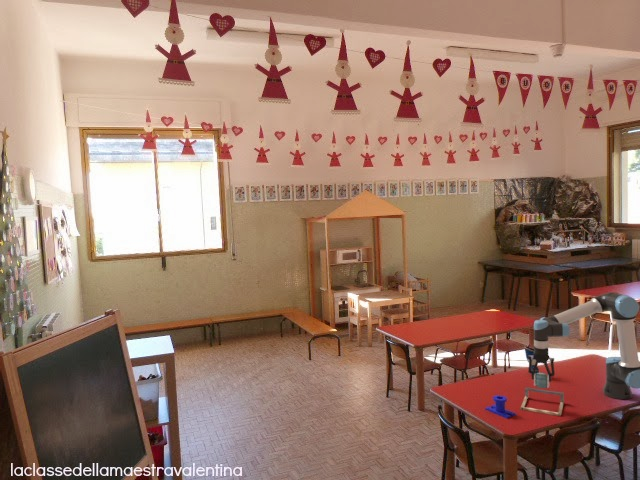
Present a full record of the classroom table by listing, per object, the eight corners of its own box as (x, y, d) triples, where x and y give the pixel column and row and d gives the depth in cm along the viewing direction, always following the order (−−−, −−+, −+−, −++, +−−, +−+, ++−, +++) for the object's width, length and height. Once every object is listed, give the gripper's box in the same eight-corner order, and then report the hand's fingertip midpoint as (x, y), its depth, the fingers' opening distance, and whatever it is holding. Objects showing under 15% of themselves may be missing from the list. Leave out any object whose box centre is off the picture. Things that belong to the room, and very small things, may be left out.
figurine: (541, 378, 322) (541, 350, 321) (527, 378, 324) (526, 349, 323) (537, 372, 335) (536, 344, 334) (523, 372, 337) (522, 344, 336)
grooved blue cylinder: (548, 385, 279) (548, 373, 278) (547, 388, 273) (547, 377, 273) (536, 383, 282) (536, 372, 281) (534, 387, 276) (534, 375, 276)
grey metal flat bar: (563, 403, 282) (563, 392, 282) (563, 404, 281) (563, 393, 280) (525, 397, 293) (525, 387, 293) (525, 398, 292) (524, 388, 291)
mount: (485, 410, 278) (484, 395, 277) (493, 406, 282) (493, 392, 281) (507, 418, 265) (506, 403, 264) (515, 415, 269) (515, 400, 268)
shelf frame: (563, 403, 282) (563, 401, 282) (560, 416, 265) (560, 414, 265) (525, 397, 293) (525, 395, 293) (520, 409, 276) (520, 407, 276)
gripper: (560, 347, 274) (560, 386, 276) (524, 343, 284) (524, 381, 286) (559, 350, 268) (559, 390, 269) (522, 346, 278) (522, 385, 279)
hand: (541, 385), depth 277 cm, fingers closed on grooved blue cylinder, 6 cm apart
